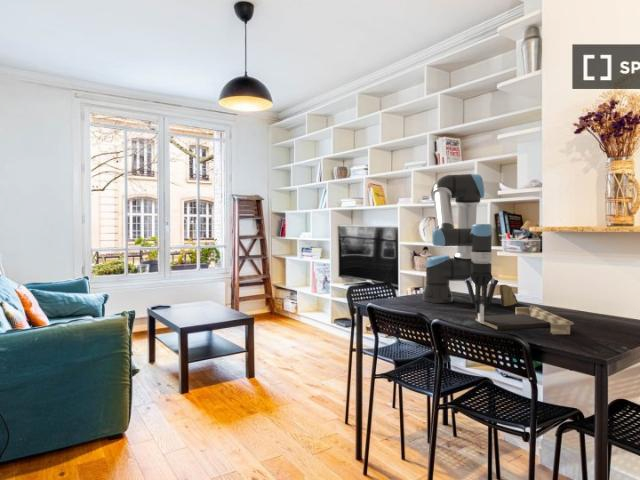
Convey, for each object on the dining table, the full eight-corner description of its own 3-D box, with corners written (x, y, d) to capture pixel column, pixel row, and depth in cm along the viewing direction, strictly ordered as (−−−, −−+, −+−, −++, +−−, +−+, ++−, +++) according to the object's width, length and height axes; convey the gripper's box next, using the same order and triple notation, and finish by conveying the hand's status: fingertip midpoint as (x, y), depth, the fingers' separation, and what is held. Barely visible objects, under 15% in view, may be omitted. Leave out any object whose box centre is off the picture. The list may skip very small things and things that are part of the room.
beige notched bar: (515, 315, 186) (515, 305, 186) (532, 315, 186) (533, 305, 186) (552, 334, 155) (552, 322, 155) (573, 334, 155) (573, 322, 155)
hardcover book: (474, 322, 178) (474, 316, 178) (523, 319, 182) (523, 313, 182) (497, 331, 162) (497, 325, 162) (550, 328, 166) (550, 322, 166)
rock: (514, 297, 217) (494, 294, 217) (520, 285, 212) (501, 283, 212) (520, 313, 209) (500, 311, 209) (527, 301, 203) (507, 299, 203)
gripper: (467, 263, 167) (467, 323, 168) (501, 263, 166) (500, 323, 167) (462, 261, 174) (461, 318, 175) (494, 261, 174) (493, 318, 175)
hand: (480, 320), depth 171 cm, fingers closed
